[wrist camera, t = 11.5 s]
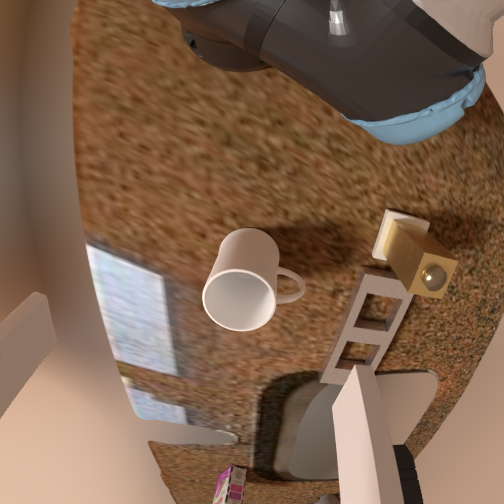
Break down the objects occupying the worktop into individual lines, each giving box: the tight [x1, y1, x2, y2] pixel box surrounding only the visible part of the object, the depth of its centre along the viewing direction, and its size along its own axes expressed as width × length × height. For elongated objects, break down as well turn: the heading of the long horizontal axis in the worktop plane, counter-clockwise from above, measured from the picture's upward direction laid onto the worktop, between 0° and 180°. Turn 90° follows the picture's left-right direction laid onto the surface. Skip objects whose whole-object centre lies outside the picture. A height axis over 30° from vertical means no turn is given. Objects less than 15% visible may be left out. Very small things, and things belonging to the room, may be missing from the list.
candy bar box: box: [213, 465, 247, 504], centre depth 65 cm, size 11×5×16 cm, turn 155°
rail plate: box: [318, 266, 414, 385], centre depth 47 cm, size 22×9×2 cm, turn 170°
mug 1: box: [203, 228, 305, 331], centre depth 39 cm, size 12×8×12 cm
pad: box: [372, 209, 430, 260], centre depth 41 cm, size 7×7×1 cm
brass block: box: [382, 220, 458, 299], centre depth 35 cm, size 5×5×12 cm
